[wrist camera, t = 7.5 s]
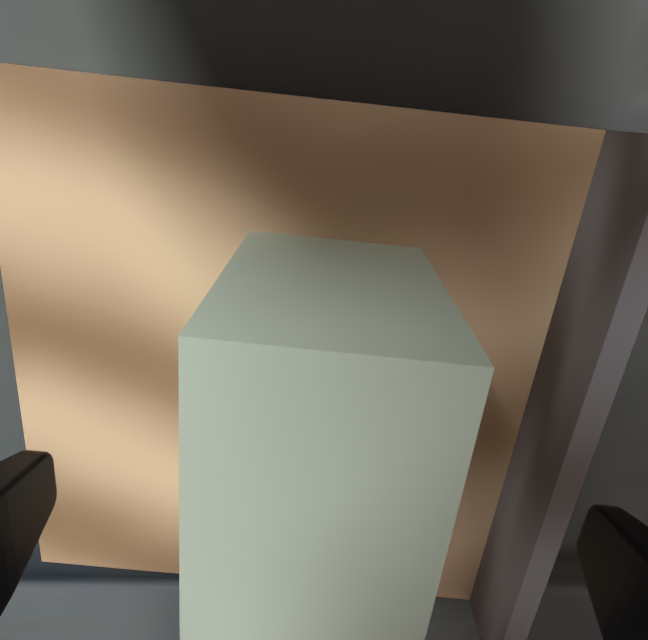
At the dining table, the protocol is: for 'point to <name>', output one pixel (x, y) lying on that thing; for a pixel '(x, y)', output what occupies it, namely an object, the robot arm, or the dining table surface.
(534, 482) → the wooden platform
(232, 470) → the tea box
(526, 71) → the dining table surface
